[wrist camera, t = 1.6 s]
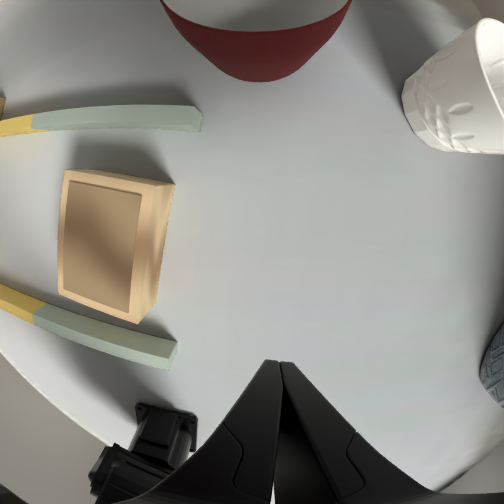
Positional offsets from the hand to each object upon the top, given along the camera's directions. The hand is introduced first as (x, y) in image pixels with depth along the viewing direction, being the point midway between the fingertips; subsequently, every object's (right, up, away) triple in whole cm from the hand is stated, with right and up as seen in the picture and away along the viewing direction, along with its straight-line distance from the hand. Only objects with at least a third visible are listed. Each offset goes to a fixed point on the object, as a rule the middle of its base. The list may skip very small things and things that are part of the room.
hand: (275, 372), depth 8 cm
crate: (-10, +5, +12) cm, 17 cm away
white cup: (+14, +15, +8) cm, 22 cm away
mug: (-1, +18, +8) cm, 20 cm away
